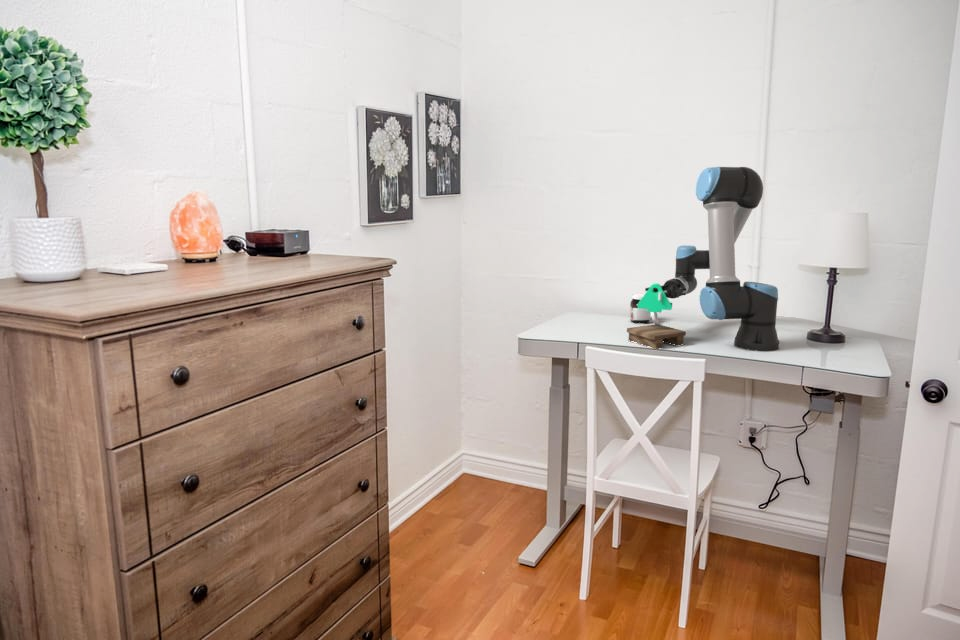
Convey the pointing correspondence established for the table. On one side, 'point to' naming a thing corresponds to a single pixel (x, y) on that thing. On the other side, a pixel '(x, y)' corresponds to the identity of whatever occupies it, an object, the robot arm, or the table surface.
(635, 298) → the spread jar
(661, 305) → the camera mount
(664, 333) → the walnut stand
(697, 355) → the table surface
